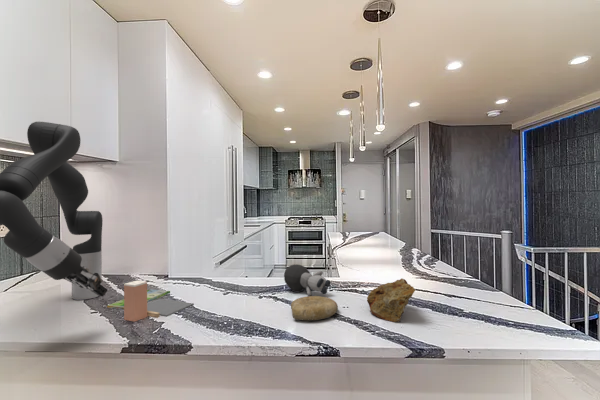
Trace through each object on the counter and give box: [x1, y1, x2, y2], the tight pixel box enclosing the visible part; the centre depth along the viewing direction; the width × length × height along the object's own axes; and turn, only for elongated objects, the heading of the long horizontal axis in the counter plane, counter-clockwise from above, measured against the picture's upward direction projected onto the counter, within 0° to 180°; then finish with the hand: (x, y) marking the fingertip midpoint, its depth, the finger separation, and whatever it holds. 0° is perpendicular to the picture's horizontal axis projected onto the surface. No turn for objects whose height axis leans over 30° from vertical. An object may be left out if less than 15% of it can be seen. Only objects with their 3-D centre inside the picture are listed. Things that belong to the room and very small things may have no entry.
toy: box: [283, 264, 331, 296], centre depth 120 cm, size 11×12×20 cm
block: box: [123, 280, 148, 322], centre depth 94 cm, size 4×4×11 cm
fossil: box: [290, 295, 339, 321], centre depth 97 cm, size 17×15×5 cm
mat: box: [147, 298, 195, 318], centre depth 104 cm, size 16×12×1 cm
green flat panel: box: [106, 289, 171, 310], centre depth 113 cm, size 20×1×10 cm
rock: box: [366, 278, 416, 323], centre depth 97 cm, size 20×15×10 cm
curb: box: [147, 311, 161, 319], centre depth 97 cm, size 12×1×1 cm, turn 67°
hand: (103, 293), depth 85 cm, fingers closed
